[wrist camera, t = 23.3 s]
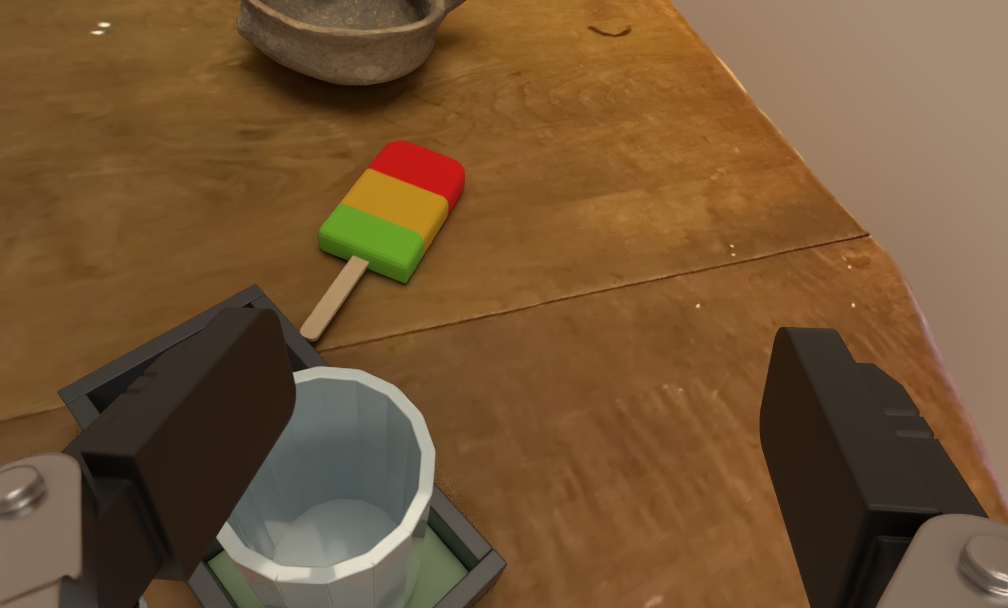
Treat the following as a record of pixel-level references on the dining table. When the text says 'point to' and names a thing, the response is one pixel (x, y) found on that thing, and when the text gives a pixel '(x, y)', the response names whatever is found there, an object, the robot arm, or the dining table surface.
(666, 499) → the dining table surface
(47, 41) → the dining table surface
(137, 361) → the tray
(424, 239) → the popsicle
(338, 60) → the bowl
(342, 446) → the tumbler
